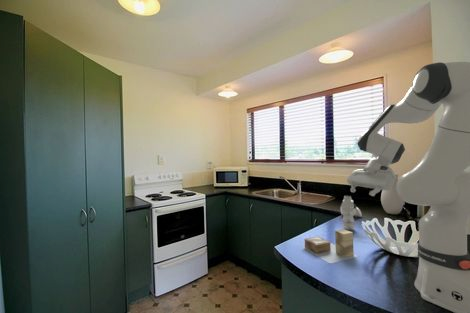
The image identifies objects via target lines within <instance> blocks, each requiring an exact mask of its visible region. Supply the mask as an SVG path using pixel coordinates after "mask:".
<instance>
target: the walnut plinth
mask: <svg viewBox="0 0 470 313" xmlns="http://www.w3.org/2000/svg"><path fill="white" fill-rule="evenodd" d="M330 243H331V242H330V241H328V239H327V240H326V239H325V238H322V237H320V236H313V237H309V238H304V246H305V248H307V249H309V250H310V251H312V252H314V253H316V254H319V253H324V252H328V251H331V248H330Z"/></svg>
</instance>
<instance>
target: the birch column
mask: <svg viewBox="0 0 470 313" xmlns="http://www.w3.org/2000/svg"><path fill="white" fill-rule="evenodd" d="M334 241H335V243H334V245H335V246H336V253H337V254H339V255H341V256H343V257H344V258H346V257H350V256H354V254H355V253H354V252H355V251H354V232H353V231H351V230H345V229H344V228H343V229H336V230H334Z"/></svg>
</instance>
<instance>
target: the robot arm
mask: <svg viewBox="0 0 470 313" xmlns="http://www.w3.org/2000/svg"><path fill="white" fill-rule="evenodd" d="M442 105H443V108H444V109H443V113H442V115H441V117H440V120H439V123H438V125H437V128H436V131H435V134H434V136H433V139H432V141H431V144H430V146H429V149H428V150H427V151H426V153H425V154H424V156H423V157H422V158H421V159H420V160H419V161H418V163H417V164H416V165H414V167H413V168H412V169H411V170H409V171H408V172H406V173H404V174H402V175H400V177H398V181H397V185H396V188H397V192H398V194H399V196H400V197H401V199H402V200H404V202H405V203H406V204H407V203H408V204H411V205H417V206H422V207H423V206H424V207H429V209H428V210H427V212H426V214H424V215H423V216H421V218H420V219H419V221H418V239H419V240H418V241H419V242H418V243H417V257H418V269H417V273H416V277H415V280H414V284H413V285H414V287H415V289H416V290H418V292H419V293H420V296H421V298H422V299H423V300H424V301H427V302H429V303H432V304H434V305H437V306H439V307H441V308H443V309H445V310H447V311H451V312H453V313H470V253H469V252H468V226H469V222H470V171H467V170H466V169H467V168H469V167H470V62H469V61H453V62H452V61H451V62H434V63H429V64H426V65H424V66H422V67H421V68H420V69H419V70H418V71H417V73H415V75H414V77H413V80H412V84H411V87H410V88H409V90H408V91H407V92H406V94H405V95H404V97H403V98H402V100H400V101H399V102H397V103H395V104H390V105H389V106H387V107H386V108H385V109H384V110H383V111H382V113H381V114H379V115H378V117H377V118H376V119H375V120H374V122H373V123H372V124H371V125H370V126H369V127H368V128H367V129H366V131H364V132H363V133H362V134H361V135H360V136H359V138H358V140H357V146H358V148H359V150H360V151H362V152H365V153H369V154H371V159H370V160H368V161H367V163H366V165H365V166H364V167H363V169H359V168H358V169H355V170H353V171H352V172H351V173H350V174H349V175H348V177H347V178H346V182H347V184H349V185H350V192H351V193H355V192H356V191H357V189H356V188H357V187H363V188H367V189H368V188H369V189H373V190H369V193H368V195H370V196H371V197H375V196H376V194H378V193H380V192H381V191H382V190H386V191H389V190H391V189H392V187H393V185H394V182H395V180H394V179H396V175H395V172H394V170H393V169H392V168H391V167H390V166H391V165H393V164H397V163H398V162H399V161H400V160H401V158H402V155H403V154H404V152H406V149H405V145H404V143H402V142H401V141H399V140H396V139H394V138H391V137H387V136H385V135H384V134H381V133H379V132H380V130H381V129H383V127H384V126H385V125H387V124H392V123H393V124H394V123H396V124H399V123H401V124H409V125H410V124H417V123H418V124H419V123H421V122H425V121H427V120H429V119H430V118H431V117H432V116H433V115H435V113H436V112H437V111H438V110H439V108H440V107H441V106H442Z"/></svg>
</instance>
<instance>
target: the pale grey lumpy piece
mask: <svg viewBox="0 0 470 313" xmlns="http://www.w3.org/2000/svg"><path fill="white" fill-rule="evenodd" d="M343 201H344V199H343V200H342V202H343ZM351 202H352V203H353V204H354V210H353V218H355V217H356V216H357V217H358V218H360V217H362V216H363V215H362V211H361V209H360V208H359V207H357V206H356V204H355V203H354V200H353V199H351ZM339 207H340V214H341V215H342V216H343V210H342V203H341V204H340V206H339Z"/></svg>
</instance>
